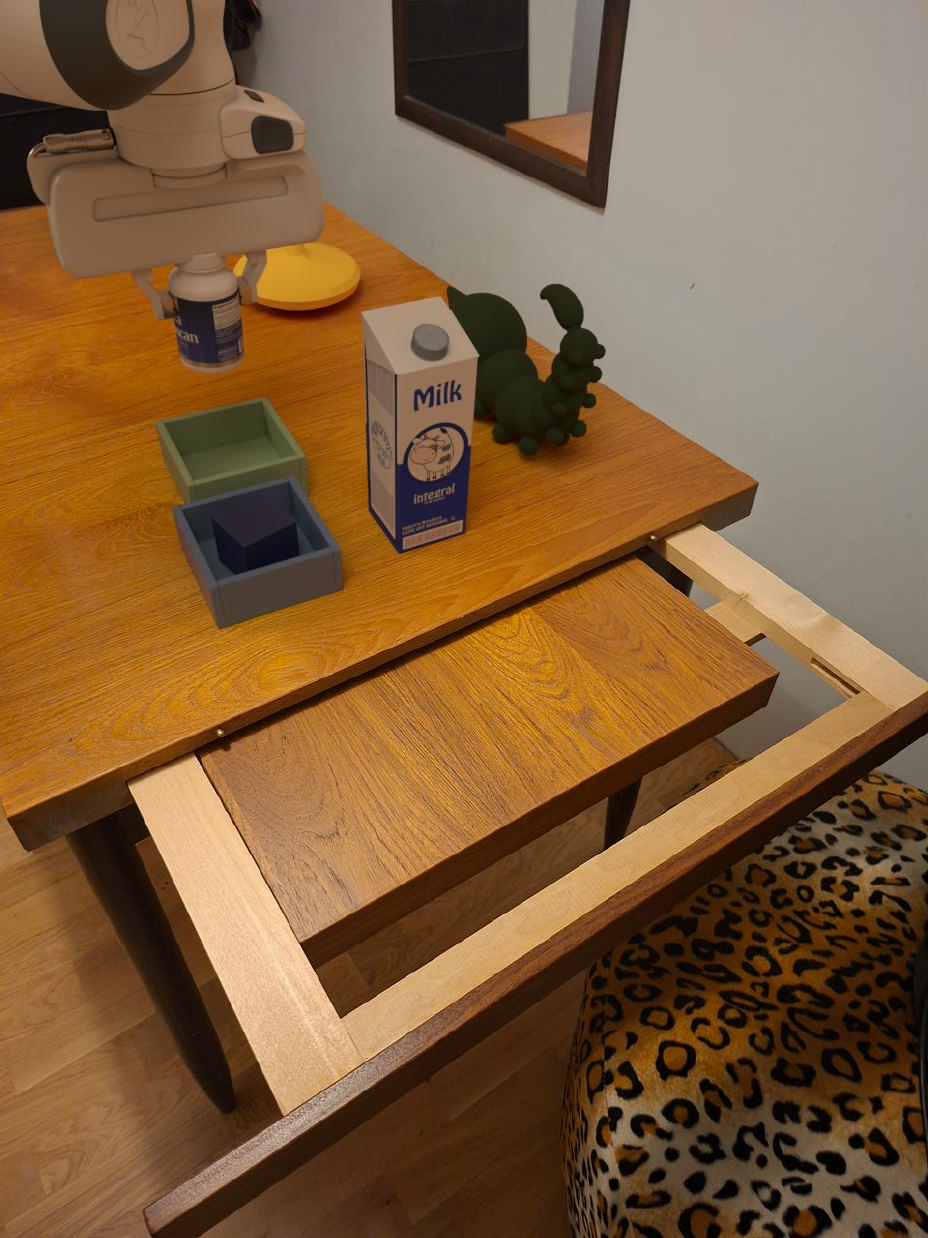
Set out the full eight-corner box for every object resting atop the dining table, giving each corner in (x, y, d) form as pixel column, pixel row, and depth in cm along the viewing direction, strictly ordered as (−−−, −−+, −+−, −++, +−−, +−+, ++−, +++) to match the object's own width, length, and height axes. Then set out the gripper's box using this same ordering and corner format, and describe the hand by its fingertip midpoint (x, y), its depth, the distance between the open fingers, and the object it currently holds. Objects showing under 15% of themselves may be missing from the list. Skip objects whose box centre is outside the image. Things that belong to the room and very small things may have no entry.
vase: (371, 273, 115) (370, 219, 110) (348, 331, 104) (346, 273, 99) (254, 261, 116) (247, 207, 110) (219, 318, 105) (210, 260, 100)
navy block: (251, 591, 72) (244, 547, 69) (219, 560, 75) (210, 515, 71) (301, 565, 75) (296, 520, 71) (267, 536, 77) (261, 491, 74)
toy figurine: (596, 475, 90) (476, 344, 103) (644, 311, 75) (497, 181, 88) (520, 500, 86) (405, 361, 99) (554, 333, 72) (415, 194, 84)
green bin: (196, 527, 78) (187, 486, 75) (164, 461, 85) (154, 420, 81) (309, 496, 82) (306, 456, 79) (270, 435, 89) (265, 395, 85)
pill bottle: (166, 360, 73) (145, 243, 66) (213, 337, 77) (198, 224, 70) (212, 382, 71) (196, 264, 65) (258, 358, 75) (247, 244, 68)
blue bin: (218, 629, 70) (209, 588, 67) (180, 547, 76) (170, 506, 73) (343, 589, 74) (341, 549, 71) (297, 514, 80) (293, 474, 77)
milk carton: (433, 491, 84) (441, 292, 69) (467, 532, 80) (481, 331, 65) (366, 510, 81) (359, 308, 67) (397, 554, 77) (396, 350, 63)
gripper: (26, 154, 55) (83, 351, 65) (327, 121, 63) (336, 303, 73) (10, 122, 59) (66, 314, 69) (295, 95, 66) (309, 272, 76)
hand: (207, 308), depth 71 cm, fingers closed on pill bottle, 5 cm apart
